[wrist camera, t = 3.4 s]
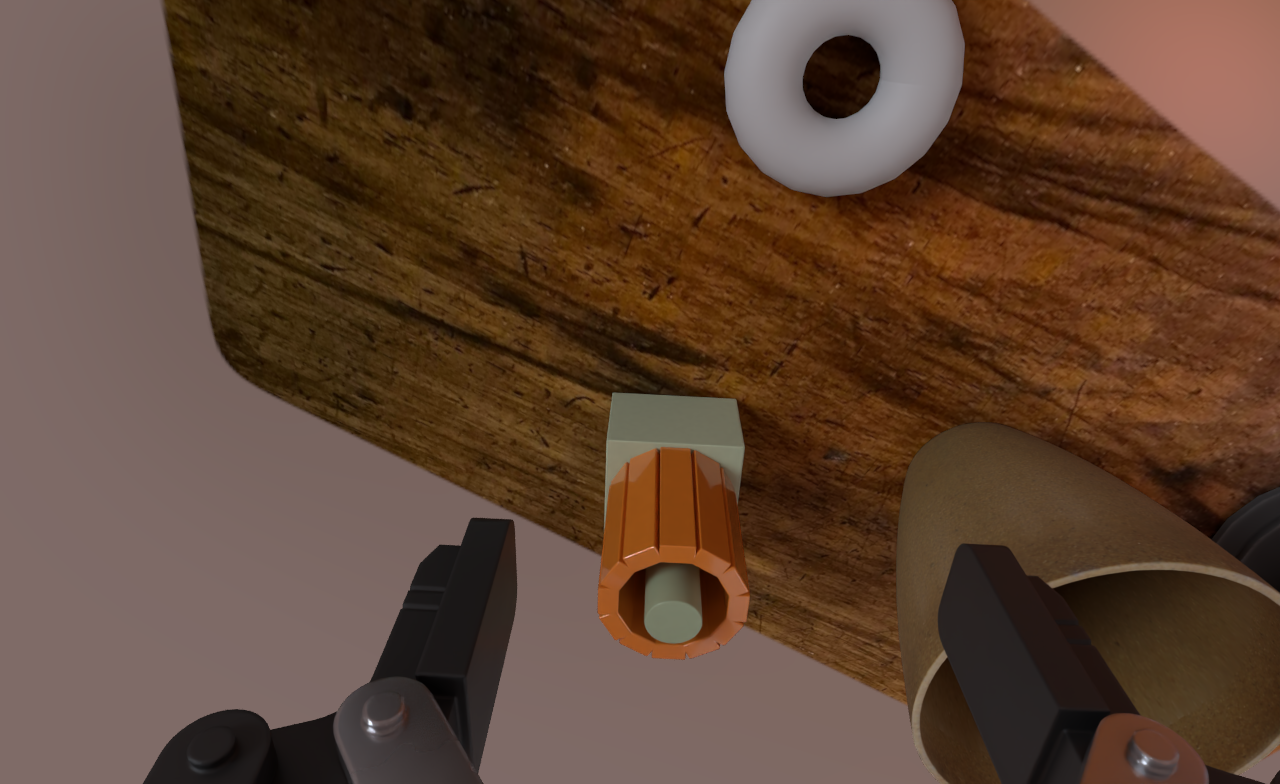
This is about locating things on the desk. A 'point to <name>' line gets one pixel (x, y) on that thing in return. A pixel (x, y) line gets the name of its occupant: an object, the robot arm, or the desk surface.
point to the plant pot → (1085, 596)
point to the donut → (868, 140)
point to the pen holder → (672, 548)
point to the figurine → (1255, 536)
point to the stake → (652, 426)
